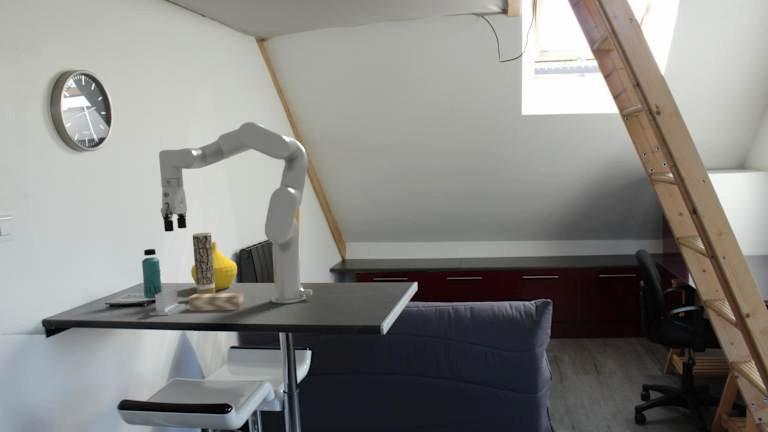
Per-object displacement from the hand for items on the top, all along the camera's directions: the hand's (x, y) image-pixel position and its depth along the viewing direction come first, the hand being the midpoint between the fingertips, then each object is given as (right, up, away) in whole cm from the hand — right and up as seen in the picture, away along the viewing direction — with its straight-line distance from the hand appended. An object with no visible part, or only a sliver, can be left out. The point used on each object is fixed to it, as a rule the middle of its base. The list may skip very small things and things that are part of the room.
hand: (175, 229), depth 217 cm
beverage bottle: (-11, -28, +8) cm, 31 cm away
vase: (+7, -25, +27) cm, 38 cm away
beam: (+18, -28, -8) cm, 34 cm away
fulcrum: (0, -29, -9) cm, 30 cm away
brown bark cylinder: (+9, -27, +9) cm, 29 cm away
